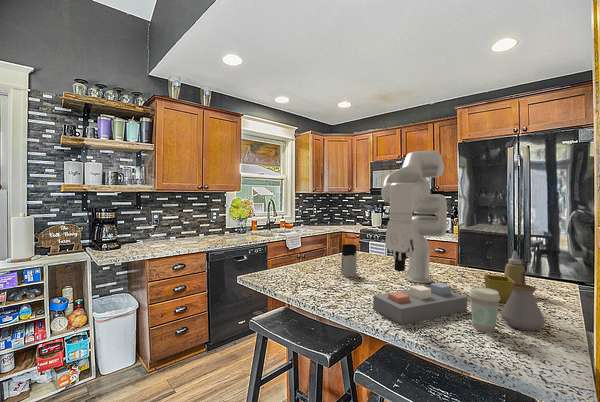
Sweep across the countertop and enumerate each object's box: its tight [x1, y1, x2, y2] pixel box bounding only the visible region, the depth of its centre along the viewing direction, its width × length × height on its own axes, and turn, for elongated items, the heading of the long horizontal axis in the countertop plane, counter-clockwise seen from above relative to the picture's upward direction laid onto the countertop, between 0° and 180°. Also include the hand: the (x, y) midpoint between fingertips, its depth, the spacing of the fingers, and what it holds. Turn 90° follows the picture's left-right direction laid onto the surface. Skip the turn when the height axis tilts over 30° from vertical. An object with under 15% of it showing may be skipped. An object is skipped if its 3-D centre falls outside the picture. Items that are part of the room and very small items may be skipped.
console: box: [372, 286, 468, 325], centre depth 108 cm, size 14×31×5 cm, turn 114°
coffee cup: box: [468, 286, 501, 333], centre depth 94 cm, size 8×8×12 cm
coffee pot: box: [500, 270, 546, 332], centre depth 100 cm, size 21×12×15 cm, turn 143°
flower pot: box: [483, 274, 515, 303], centre depth 120 cm, size 9×9×9 cm
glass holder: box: [329, 243, 358, 277], centre depth 157 cm, size 9×14×15 cm, turn 89°
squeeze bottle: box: [503, 250, 527, 285], centre depth 131 cm, size 8×8×18 cm
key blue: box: [429, 282, 452, 296], centre depth 112 cm, size 5×5×5 cm
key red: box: [388, 291, 410, 303], centre depth 104 cm, size 5×5×5 cm
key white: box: [409, 284, 431, 300], centre depth 108 cm, size 5×5×5 cm
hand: (399, 270), depth 104 cm, fingers closed
